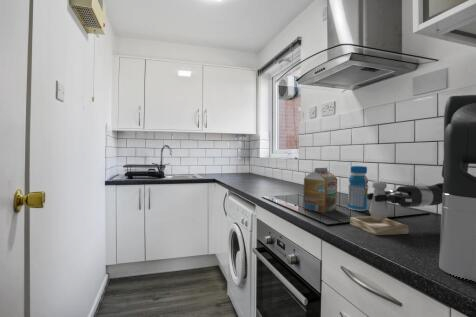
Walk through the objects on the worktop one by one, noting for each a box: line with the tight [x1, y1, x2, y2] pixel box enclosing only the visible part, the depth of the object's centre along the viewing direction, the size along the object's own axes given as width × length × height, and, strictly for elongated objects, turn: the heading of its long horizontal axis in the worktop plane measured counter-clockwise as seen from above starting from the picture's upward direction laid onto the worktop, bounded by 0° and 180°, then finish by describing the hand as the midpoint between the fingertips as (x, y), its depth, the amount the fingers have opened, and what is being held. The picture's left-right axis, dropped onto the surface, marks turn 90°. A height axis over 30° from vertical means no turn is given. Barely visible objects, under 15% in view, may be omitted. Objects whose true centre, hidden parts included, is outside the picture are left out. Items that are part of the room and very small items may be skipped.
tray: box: [349, 215, 410, 236], centre depth 88 cm, size 13×13×2 cm
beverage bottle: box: [347, 165, 369, 212], centre depth 118 cm, size 8×8×20 cm
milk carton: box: [302, 167, 338, 214], centre depth 117 cm, size 10×11×19 cm
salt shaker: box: [368, 180, 389, 220], centre depth 88 cm, size 6×6×13 cm
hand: (371, 197), depth 88 cm, fingers closed on salt shaker, 3 cm apart
